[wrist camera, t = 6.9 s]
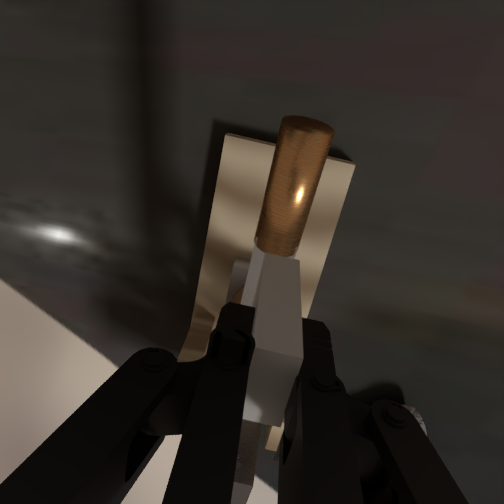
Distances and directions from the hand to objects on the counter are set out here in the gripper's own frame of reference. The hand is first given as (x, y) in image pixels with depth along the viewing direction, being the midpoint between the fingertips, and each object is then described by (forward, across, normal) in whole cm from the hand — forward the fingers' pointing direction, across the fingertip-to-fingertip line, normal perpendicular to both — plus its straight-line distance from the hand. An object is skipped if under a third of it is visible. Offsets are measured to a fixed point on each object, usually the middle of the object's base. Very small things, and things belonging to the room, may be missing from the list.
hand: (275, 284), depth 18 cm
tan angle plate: (+20, 0, -8) cm, 22 cm away
